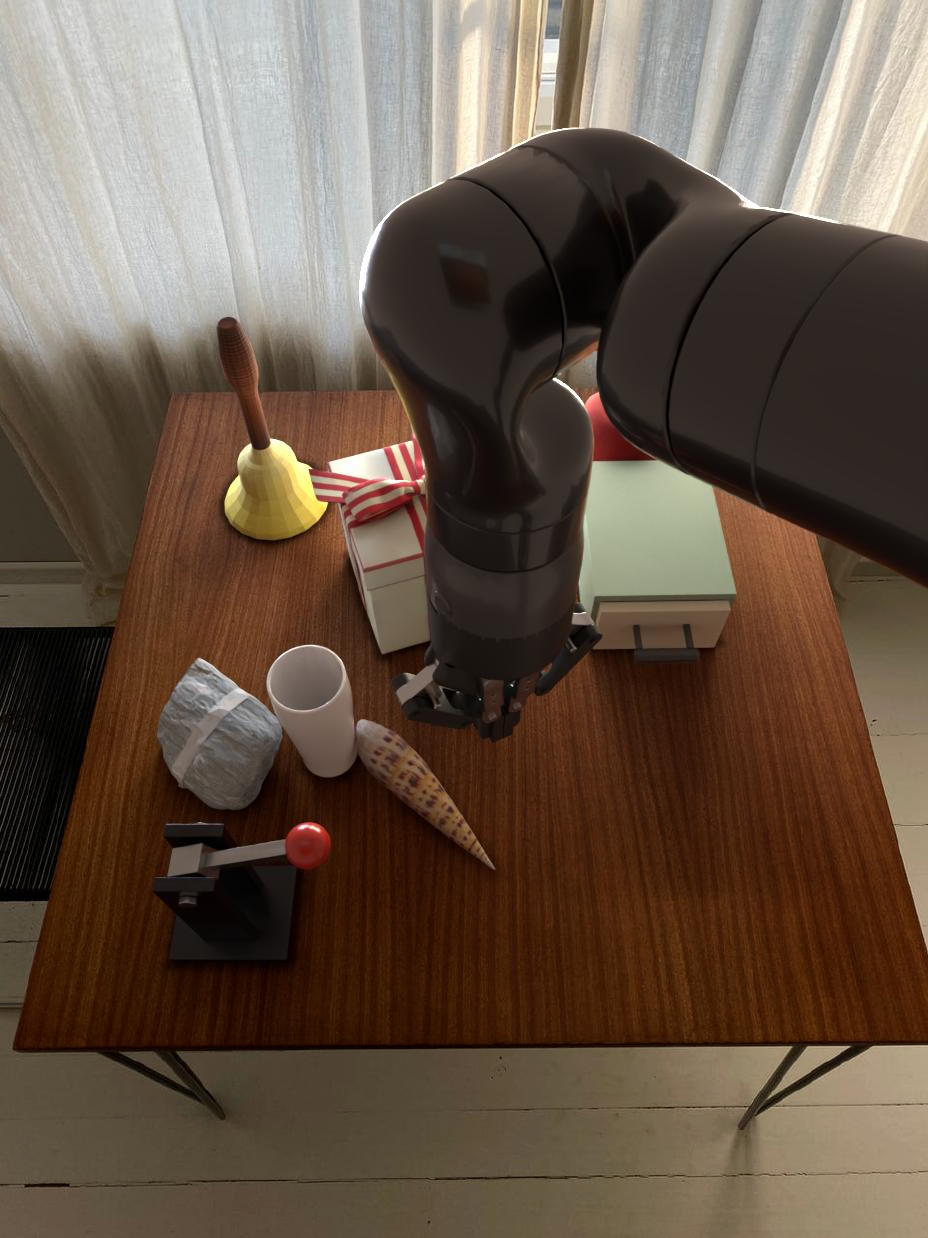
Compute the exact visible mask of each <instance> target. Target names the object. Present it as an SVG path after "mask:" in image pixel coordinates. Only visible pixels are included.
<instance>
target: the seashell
mask: <svg viewBox="0 0 928 1238" xmlns="http://www.w3.org/2000/svg"><path fill="white" fill-rule="evenodd" d="M355 738H356V746H357V755H358V756H359V758H360V760H361V761H362V763H363V765H364V766H365V767H366V769H367V770H368V771H369V773H370V774H371V775H372V776H373V777H374V778H375V779H376V780H377V781H378V782H379V783H380V784H382V786H384V787H385V788H387V789H388V790H389V791H391V792H392V794H394V795H395V796H396V797H397V798H398V799H399V800H400V801H402V802H403V803H404V804H406V805H407V806H408V807H409V808H411V809H413V811H415V813H417V814H418V815H419V816H421V818H423V819H424V820H426V821H427V822H428V823H430V824H431V825H432V826H433V827H434V828H435V829H436V830H438V831H439V832H440V833H441V834H443V835H445V837H447V838H448V839H449V840H451V841H452V842H453V843H456V844H457V846H460V847H461V848H462V849H464V850H465V851H467V852H468V853H469V854H471V855H473V856H474V857H475V858H476V859H478V860H479V861H481V862H482V863H483V864H484V865H485V866H488V867H489V868H491V869H492V870H494V871H496V868H495V866H494V864H493V863H492V862H491V860H490V858H489V857H488V855H487V853H486V851H485V850H484V849H483V847H482V846H481V844H480V842H479V840H478V838H477V837H476V835H475V834H474V832H473V830H472V828H471V827H470V825H469V824H468V823H467V821H466V819H465V818H464V816H463V814H461V812H460V811H459V809H458V807H457V806H456V803H455V802H454V800H453V799H452V798H451V797H450V795H449V794H448V793H447V792H446V790H445V788H444V787H443V785H442V784H441V783H440V781H439V780H438V778H437V777H436V776H435V774H434V773H433V772H432V771H431V768H430V767H429V765H428V764H427V762H426V761H425V760H424V759H423V757H421V756H420V755H419V754H418V752H417V751H416V750H414V748H412V747H411V746H410V745H409V744H408V743H407V742H406V740H405V739H403V738H402V736H400V735H399V734H397V733H396V732H395V731H394V730H391V729H389V728H385V726H384V725H383V724H379V723H377V722H375V721H373V720H367V719H364V718H363V719H360V720H358V721H357V723H356V726H355Z"/></svg>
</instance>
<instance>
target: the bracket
mask: <svg viewBox="0 0 928 1238" xmlns="http://www.w3.org/2000/svg"><path fill="white" fill-rule="evenodd" d="M162 837H163V839H164V840H165V841H166V842H167V843H168V844H169V845H170V846H171V848H172V849H173V848H177V847H183V846H188V845H194V844H199V843H203V844H205V845H207V846H209V847H212V848H214V849H216V850H218V851H221V850H227V849H233V848H239V847H240V846H239V844H238V843H237V841H236V840H235V838H234V837H233V836H232V834H231V832H230V831H229V830H228V828H227V827H226V825H225V824H224V823H207V822H194V823H165V825H164V829H163V834H162ZM299 876H300V868H298V867H296V866H294V865H248V866H242V867H236V868H229V869H223V870H220V871H219V877H218V880H217V879H216V878H168V877H154V879H153V883H152V888H151V892H152V893H153V894H154V895H155V896H156V897H157V898H158V899H159V900H161V901H162V903H163V904H164V905H165V906H167V907H168V908H169V909H170V910H171V911H172V912H173V913H174V914H175V920H174V926H173V932H172V938H171V944H170V948H169V953H168V961H170V962H171V963H173V964H188V963H190V964H230V963H231V964H289V963H290V958H291V951H292V950H291V949H292V942H293V941H292V939H293V930H294V922H295V921H294V920H295V913H296V902H297V895H298V894H297V893H298V884H299Z"/></svg>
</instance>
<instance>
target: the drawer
mask: <svg viewBox="0 0 928 1238" xmlns="http://www.w3.org/2000/svg"><path fill="white" fill-rule="evenodd" d="M731 609H732V608H731ZM731 609H730V604H729V600H717V601H713V600H659V601H603V602H600V604H599V608H598V613H597V618H596V622H595V624H596V626H597V628H598V629H599V631H600V632H601V634H602V635H603V636H602V639H601V640H600V641H599V642H598V643H597V644H596V645H595V646H594V647H593V648H592V650H631V649H632V650H633V649H634V651H633V661H634V664H636V665H638V664H642V665H643V664H644V665H645V664H698V662H699V659H700V652H699V650H698V649H699V648H703V649H704V648H706V649H707V648H715V647H716V645H717V643H718V641H719V640H718V639H719V638H720V636H721V633H722V631H723V629H724V626H725V624H726V621H727V620H728V617H729V615H730V613H731V611H732V610H731Z"/></svg>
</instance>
